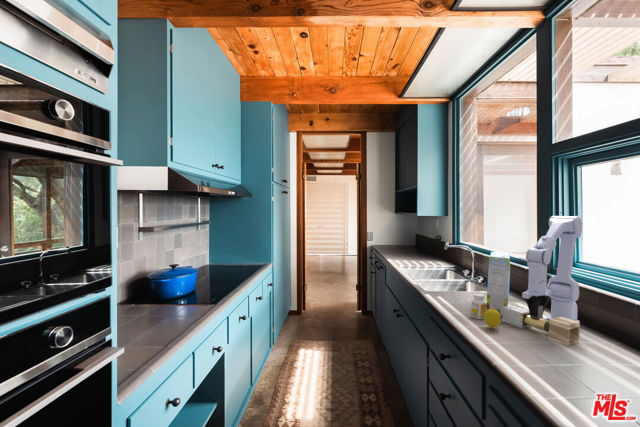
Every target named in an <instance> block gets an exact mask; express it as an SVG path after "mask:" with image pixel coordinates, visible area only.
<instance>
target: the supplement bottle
mask: <svg viewBox="0 0 640 427" xmlns="http://www.w3.org/2000/svg"><path fill="white" fill-rule="evenodd" d="M484 299H485V295H484V294H482V293H473V298H472V299H471V304H470V306H471V307H470V308H471V309H470V310H471V311H470V316H471V318H473V319H476V320H485V319H484V316H485V313H486V304H487V301H486V300H484Z"/></svg>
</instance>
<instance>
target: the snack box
mask: <svg viewBox="0 0 640 427" xmlns="http://www.w3.org/2000/svg"><path fill="white" fill-rule="evenodd" d="M510 276H511V256H510V253H508V252H498V251H491V252H490V254H489V256H488V272H487V288H486V309H485V312H486V311H487V310H489V309H492V308H494V309H495V310H497V311H498V312H499V314H500V317H502V313H503V307H505V306H509V295H510Z"/></svg>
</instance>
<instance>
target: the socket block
mask: <svg viewBox="0 0 640 427" xmlns="http://www.w3.org/2000/svg"><path fill="white" fill-rule="evenodd" d="M548 321H549V332H548V339H549V340H551V341H554V342H558V343H560V344H563V345H566V346H570V345H574V344H578V343H580V330H581V322H577V321H574V320H570V319H567V318H564V317H557V318H552V319H548Z"/></svg>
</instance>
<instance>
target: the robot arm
mask: <svg viewBox="0 0 640 427" xmlns="http://www.w3.org/2000/svg"><path fill="white" fill-rule="evenodd" d="M548 226H549V229H548V230H547V231H546V234H545V235H542V236H541V237H540V238H539V240H538V241H537V242H536V244H535V245H534V246H533V247H531V248H528V249H527V251H526V255H525V260H526V262H527V263H526V266H527V267H528V283H527V285H528V286H527V290H526V291H524V292H522V293H521V295H522V296H521V297H522V299H524V301H525V303H526V305H527V308H528V310H529V312H530V315H532V316H535V317H536V316H537V314H538V308H539V304H541V305H543V313H544V312H545V309H546V306H547V304H548V303H549V302H550V301H551V303H550V304H551V306H550V307H551V308H550V309H551V310H550V316H547V317H545V320H549V319H552V318H557V317H564V318H567V319H570V320H574V321H577V322H580V320H578V305H577V303H576V301H578V300H579V297H580V285H579V283H578V281H576V280H575V279H574V278H573V277H572V274H573V273H572V272H573V263H574V257H575V247H576V240H577V239H578V238H581V236H582V231H583V221H582V218H581V217H580V216H578V215H576V216H573V215H571V216H570V215H569V216H568V215H552V216H550V217H549V219H548ZM558 239H560V242H559V252H558V259H557V260H558V261H557V267H556V275H554V276H551V277H550V278H549V279H548V275H547V274H548V265H549V264H550V262H551V260H552V256H553V254H552V252H553V251H554V250H555V248H556V246H557V240H558ZM547 280H548V282H547ZM580 323H581V322H580Z"/></svg>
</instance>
